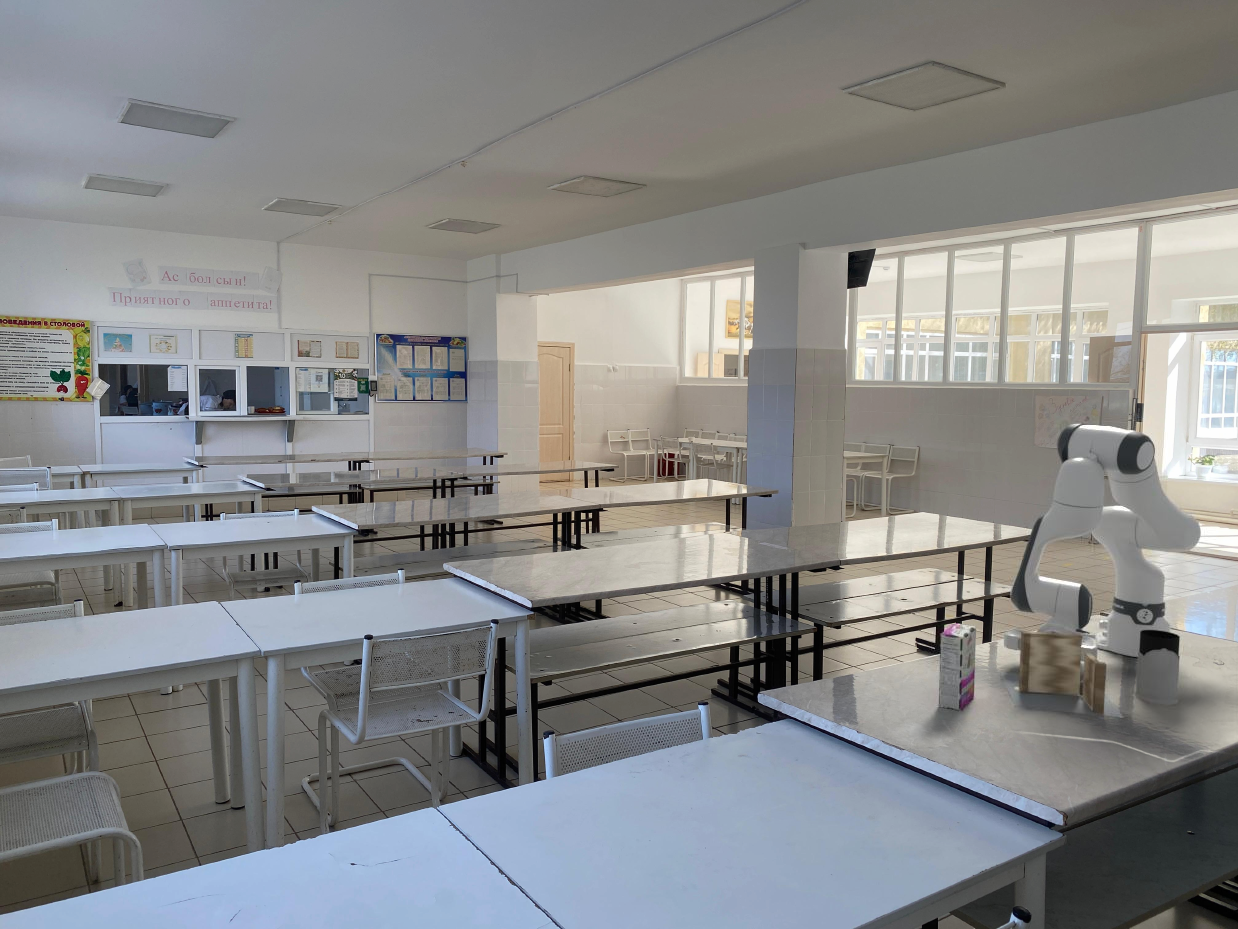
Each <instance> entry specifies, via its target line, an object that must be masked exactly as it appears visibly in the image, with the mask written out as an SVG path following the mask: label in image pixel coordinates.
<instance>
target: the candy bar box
mask: <svg viewBox="0 0 1238 929" xmlns="http://www.w3.org/2000/svg"><path fill="white" fill-rule="evenodd" d="M976 633H977V626H974V625H969V624H962V623H954V624H952V625H951V626H949V627H948V628H947V629H945V630H944V631H943V632H942V633H940V634H939V635H940V636H939V637H940V640H939V641H940V644H939V646H940V647H939V649H940V650H939V684H938V686H939V688H938V692H939V693H938V706H939V707H940V706H943V707H942V708H944V707H947V708H946V709H949V708H950V709H949V710H954V709H955V711H961V712H962V710H963V709H964V707H966V706H967V704H969V703H970V701H972V700H973V698H975V673H976V671H975V670H976V638H977V636H976V635H977V634H976ZM965 705H966V706H965Z"/></svg>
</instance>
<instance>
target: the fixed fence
mask: <svg viewBox="0 0 1238 929" xmlns="http://www.w3.org/2000/svg"><path fill="white" fill-rule="evenodd" d="M1083 662H1084V663H1083V679H1082V680H1083V681H1080V695H1082V696H1083V698H1084V699H1085V700H1086V701H1087V702H1088V704H1089V705H1090V706H1091V707H1092V708H1093V710H1092V711H1093V712H1094V713H1097V714H1104V699H1105V694H1106V682H1107V681H1106V677H1107V664H1106V662H1105V661H1104V662H1103V661H1102V662H1101V661H1100V660H1098V658H1097V659H1096V658H1095V657H1094V656H1093V655H1092V654H1091V653H1085V659H1084V661H1083Z"/></svg>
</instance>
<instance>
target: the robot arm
mask: <svg viewBox="0 0 1238 929" xmlns="http://www.w3.org/2000/svg"><path fill="white" fill-rule="evenodd" d="M1056 444H1057V445H1056V446H1057V447H1056V450H1057V454H1058V456H1059V459H1060V461H1061V466H1060V468H1059V471H1058V474H1057V477H1056V481H1055V485H1054V491H1053V499H1052V502H1051V506H1050V508H1049V510H1048V512H1046V514H1043V515H1041V516H1039V517H1038V518H1037V520H1036V521H1035V523H1034V525H1033V526H1032V530H1031V531H1030V534H1029V536H1028V537H1029V538H1028V540H1027V544H1026V547H1025V550H1024V554H1023V556H1022V560H1021V562H1020V566H1019V569H1018V572H1017V574H1016V578H1015V579H1014V581H1013V583H1012V584H1011V588H1010V601H1011V602H1012V604H1013V605H1014V606H1015V607H1016V609H1017V610H1019V611H1020V612H1022V613H1023V612H1024V613H1031V614H1039V615H1044V616H1048V617H1050V618H1049V619H1047V620H1046V621H1045V623H1043V624H1042V625H1041V626H1040V627H1039V628H1038V629H1037V631H1036V632H1049V633H1072V634H1081V635H1082V647H1081V662H1084V659H1085V653H1091V654H1092V655H1093V656H1094V657H1095V658H1096V659H1097V660H1098V649H1101V650H1105V651H1110V652H1113V653H1116V654H1119V655H1123V656H1128V657H1135V658H1138V652H1139V646H1140V631H1142V630H1159V631H1166V632H1170V633H1171V624H1170V622H1168V621H1167V619H1166V618H1164V616H1165V615H1166V609H1167V608H1166V602H1165V601H1164V600H1165V599H1164V597H1165V583H1166V582H1165V581H1166V580H1165V579H1166V576H1165V574H1164V572H1163V570H1162V569H1161V568H1160V567H1158V566H1157V565H1156V564H1155V563H1152V562H1151V561H1149V560H1148V559H1147V558H1146V557H1145V555H1144V554H1143V552H1142V550H1148V551H1149V550H1150V551H1157V552H1165V553H1177V552H1178V553H1181V552H1189V551H1191V550H1193V549H1194V548H1195V547H1196V546H1197V544H1198V543H1199V541H1200V539H1201V534H1202V533H1201V532H1202V531H1201V526H1200V524H1199V522H1198V520H1197V518H1195V516H1193V515H1192V514H1190V513H1188V512H1187V511H1184V510H1182V509H1181V508H1179V507H1178V506H1177V505H1176V504H1175V503H1174V502H1172V501H1171V500H1170V498H1169V497H1168V496H1167V495H1166V493H1165V492H1164V490H1163V488H1162V484H1161V482H1160V477H1159V473H1158V467H1157V462H1156V459H1155V454H1156V448H1155V443H1154V442H1153V441H1152V439H1151V437H1149V436H1148V435H1147V434H1144V433H1142V432H1139V431H1137V430H1132V429H1131V430H1130V429H1124V428H1120V427H1119V428H1118V427H1116V426H1109V425H1107V426H1104V425H1094V424H1092V425H1090V424H1089V425H1088V424H1086V423H1071V424H1069V425H1067V426H1066V427H1065V428H1064V429H1063V430H1062V431H1061V432H1060V434H1059V436H1058V438H1057V443H1056ZM1105 472H1106V473H1107V474H1106V475H1107V478H1108V483H1109V487H1110V492H1111V496H1112V499H1114V501H1115V502H1116V503H1117V504H1118V505H1108V506H1104V503H1105V489H1106V488H1105ZM1089 533H1091V535H1092V537H1093V538H1094V539H1095V540H1096V541H1097V542H1099V543H1100V544H1101V545H1102V546H1103V547H1104V549H1105V550H1106V552H1107V553H1108V554H1109V556H1110V559H1111V560H1112V562H1113V565H1114V570H1115V594H1114V596H1113V600H1112V606H1111V612H1110V613H1109V614H1108V615H1107V616H1106V618H1105V620H1100V621H1099V629H1100V630H1104V631H1102V632H1101V631H1100V632H1096V633H1093V632H1089V631H1086V630H1084V628H1085V627H1086V626H1087V625H1088V624H1089V623H1090V620H1091V616H1092V612H1093V604H1094V603H1093V596H1092V594H1091V592H1090V590H1089V588H1087V587H1086V585H1085V584H1083V583H1079V582H1076V581H1071V580H1064V579H1063V580H1062V579H1058V578H1053V577H1047V576H1042V575H1040V574H1039V573H1038V569H1039V567H1040V564H1041V560H1042V557H1043V553H1044V552H1045V548H1046V546H1047V545H1049V544H1051V543H1053V542H1057V541H1063V540H1068V539H1069V540H1070V539H1075V538H1079V537H1082V536H1085V535H1087V534H1089ZM1021 631H1025V630H1024V629H1011V630H1008V631H1007V632H1006V633H1004V636H1003V646H1004V648H1006V649H1007V650H1015V651H1020V650H1021ZM1027 631H1028V632H1032V631H1030V630H1027Z"/></svg>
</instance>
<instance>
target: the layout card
mask: <svg viewBox="0 0 1238 929" xmlns="http://www.w3.org/2000/svg"><path fill="white" fill-rule="evenodd" d="M999 674H1000V676H1001V678H1002V680H1003V683H1004V685H1005V687H1006V689H1007V692H1008V693H1009V696H1010V699H1011V701H1012V703H1013V705H1014V707H1016V708H1025V709H1034V710H1042V711H1051V712H1052V711H1053V712H1063V713H1069V714H1070V713H1071V714H1080V715H1091V716H1099V717H1107V718H1108V717H1110V718H1118V719H1119V718H1120V719H1125V717H1124V716H1123V714H1122V713H1121V712H1120V711H1119V709H1118V708H1117V707H1116V706H1115V705H1114V703H1113V702H1112V700H1111V699H1110V698H1109V697H1108V695H1107V694H1106V693H1105V699H1104V714H1097V713H1094V712H1093V711H1092V710H1093V708H1092V707H1091V706H1090V705H1089V704H1088V702H1087V701H1086V700H1085V699H1084V698H1083V696H1082V695H1080V685H1079V695H1078V694H1059V693H1040V692H1021V691H1020V690H1019V673H1014V672H1013V673H1012V672H1003V671H999ZM1080 681H1083V679H1080Z"/></svg>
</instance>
